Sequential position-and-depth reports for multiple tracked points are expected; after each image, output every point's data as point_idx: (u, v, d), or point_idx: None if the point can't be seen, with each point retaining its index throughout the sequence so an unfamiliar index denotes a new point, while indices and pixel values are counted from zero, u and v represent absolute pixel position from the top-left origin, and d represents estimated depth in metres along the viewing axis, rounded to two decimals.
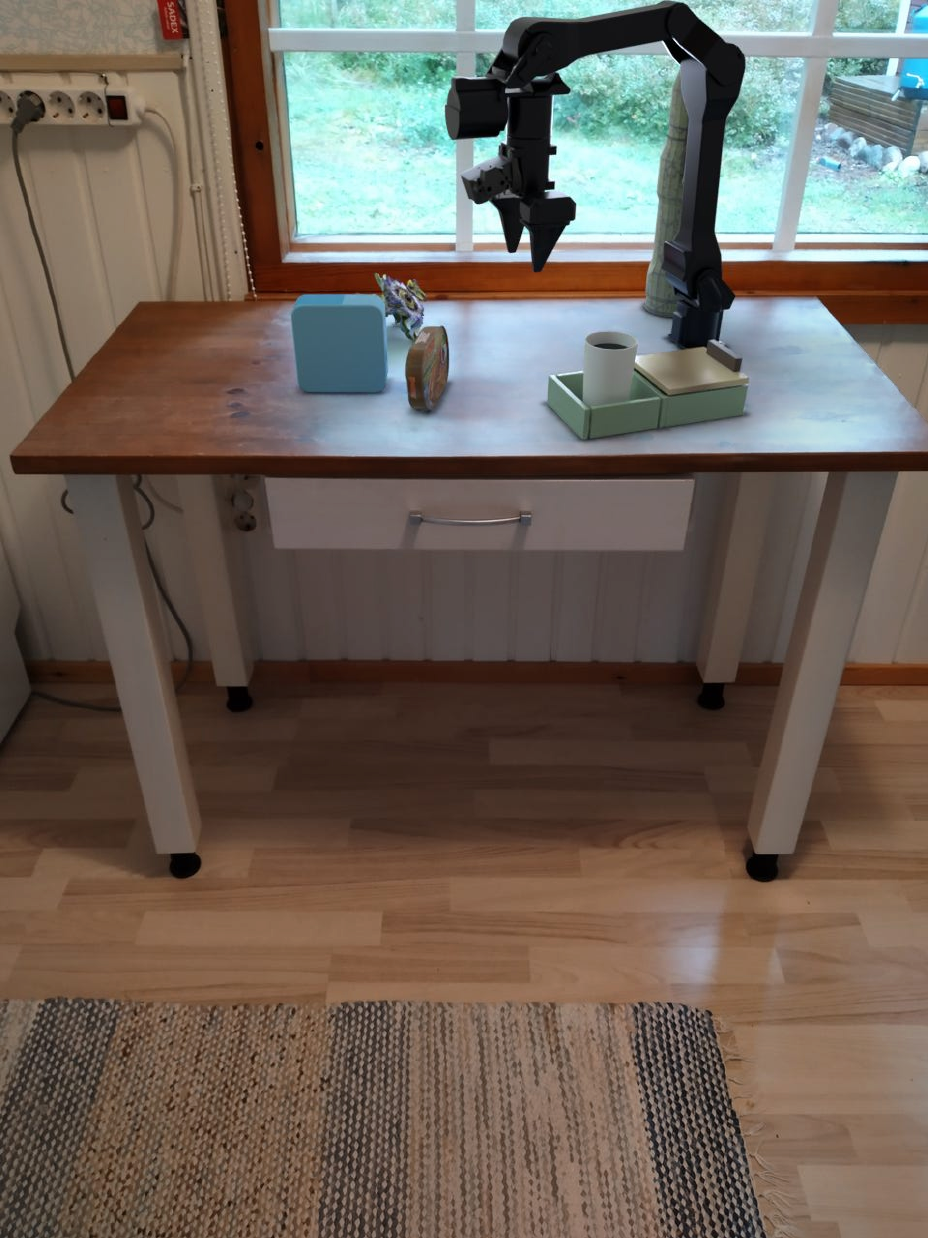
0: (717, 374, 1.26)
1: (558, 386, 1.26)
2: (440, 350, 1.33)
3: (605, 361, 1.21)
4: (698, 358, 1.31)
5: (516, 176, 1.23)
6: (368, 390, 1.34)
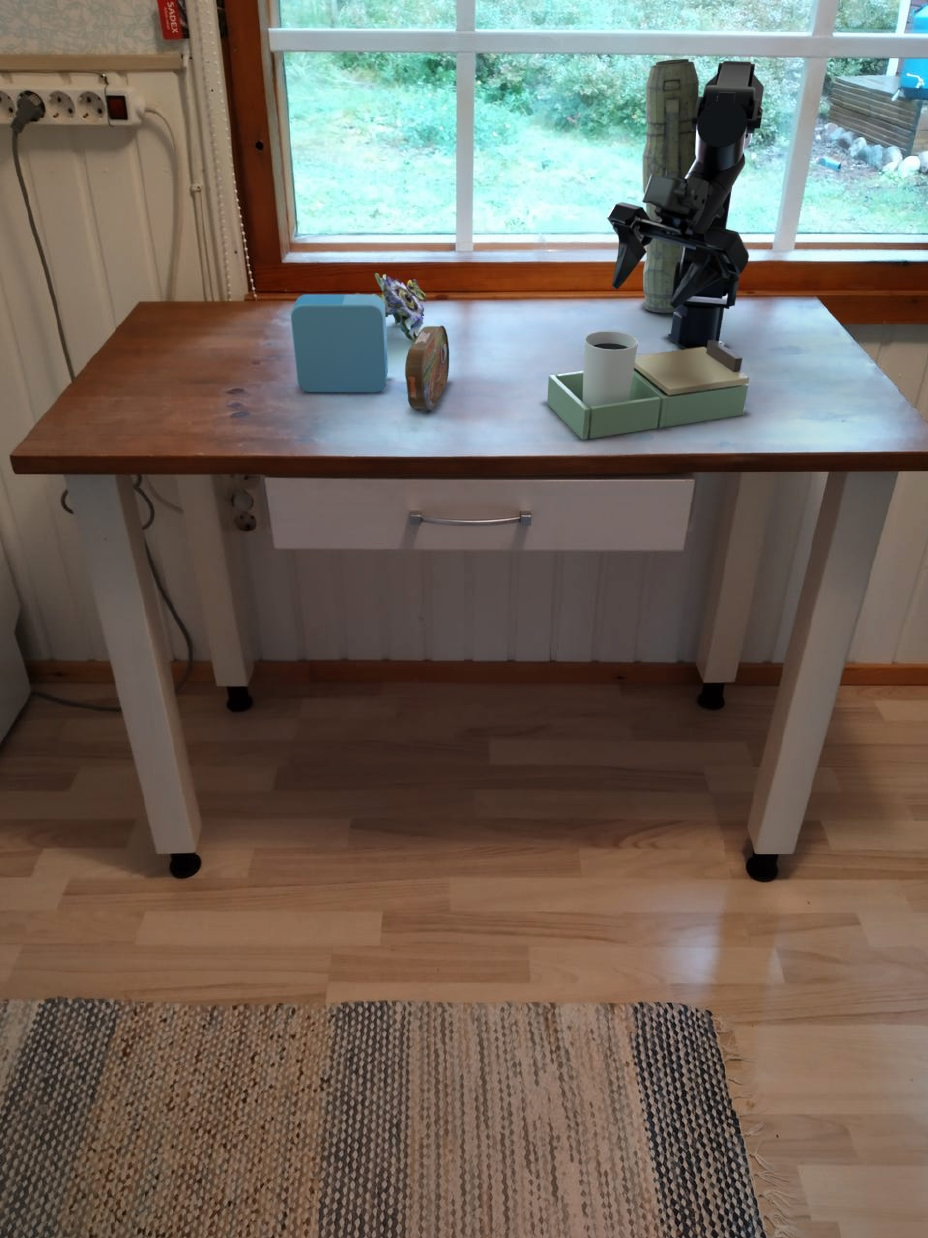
0: (717, 374, 1.26)
1: (558, 386, 1.26)
2: (440, 350, 1.33)
3: (605, 361, 1.21)
4: (698, 358, 1.31)
5: (701, 208, 1.20)
6: (368, 390, 1.34)
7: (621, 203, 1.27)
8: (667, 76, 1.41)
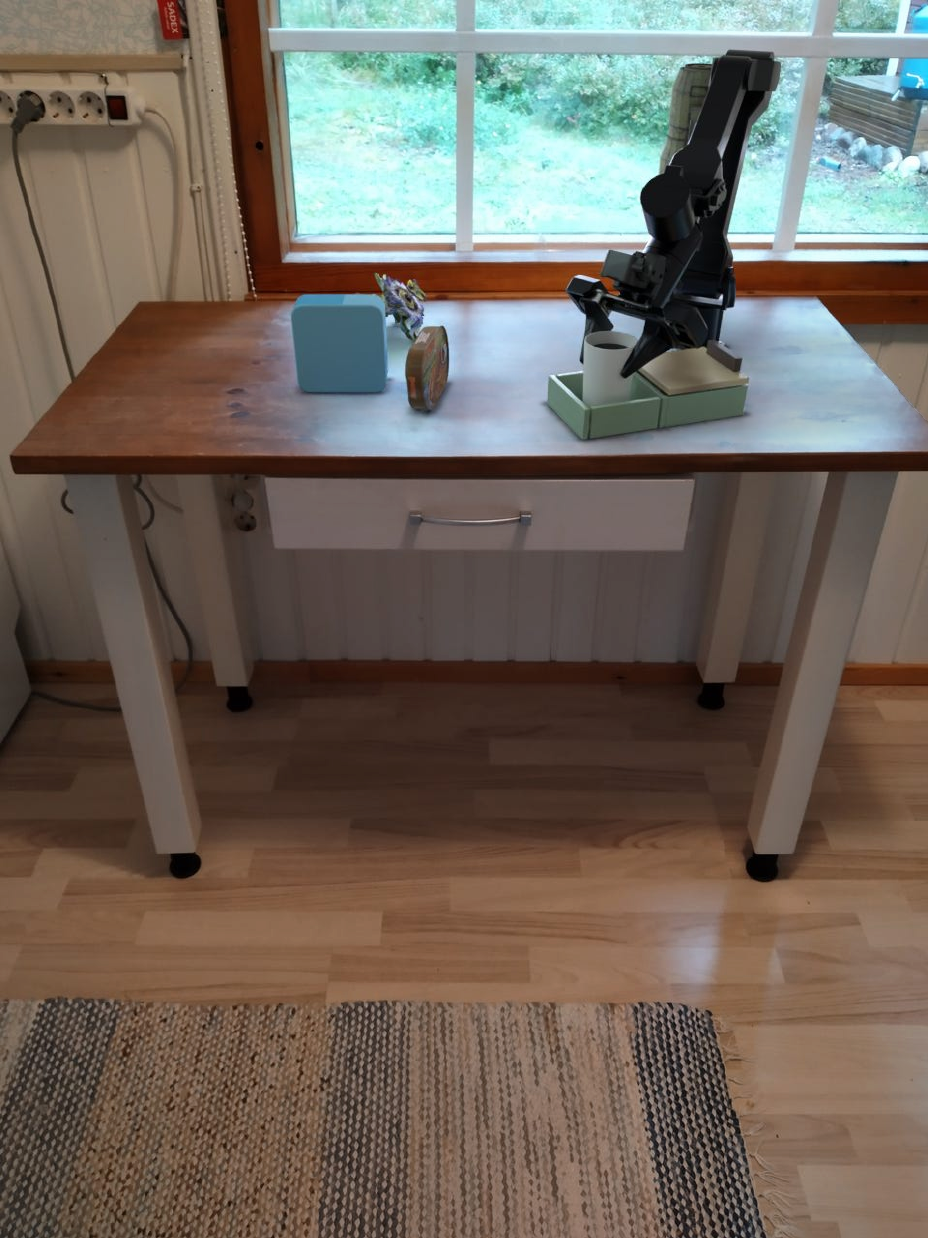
0: (717, 374, 1.26)
1: (558, 386, 1.26)
2: (440, 350, 1.33)
3: (605, 361, 1.21)
4: (698, 358, 1.31)
5: None
6: (368, 390, 1.34)
7: (579, 276, 1.26)
8: (695, 82, 1.40)
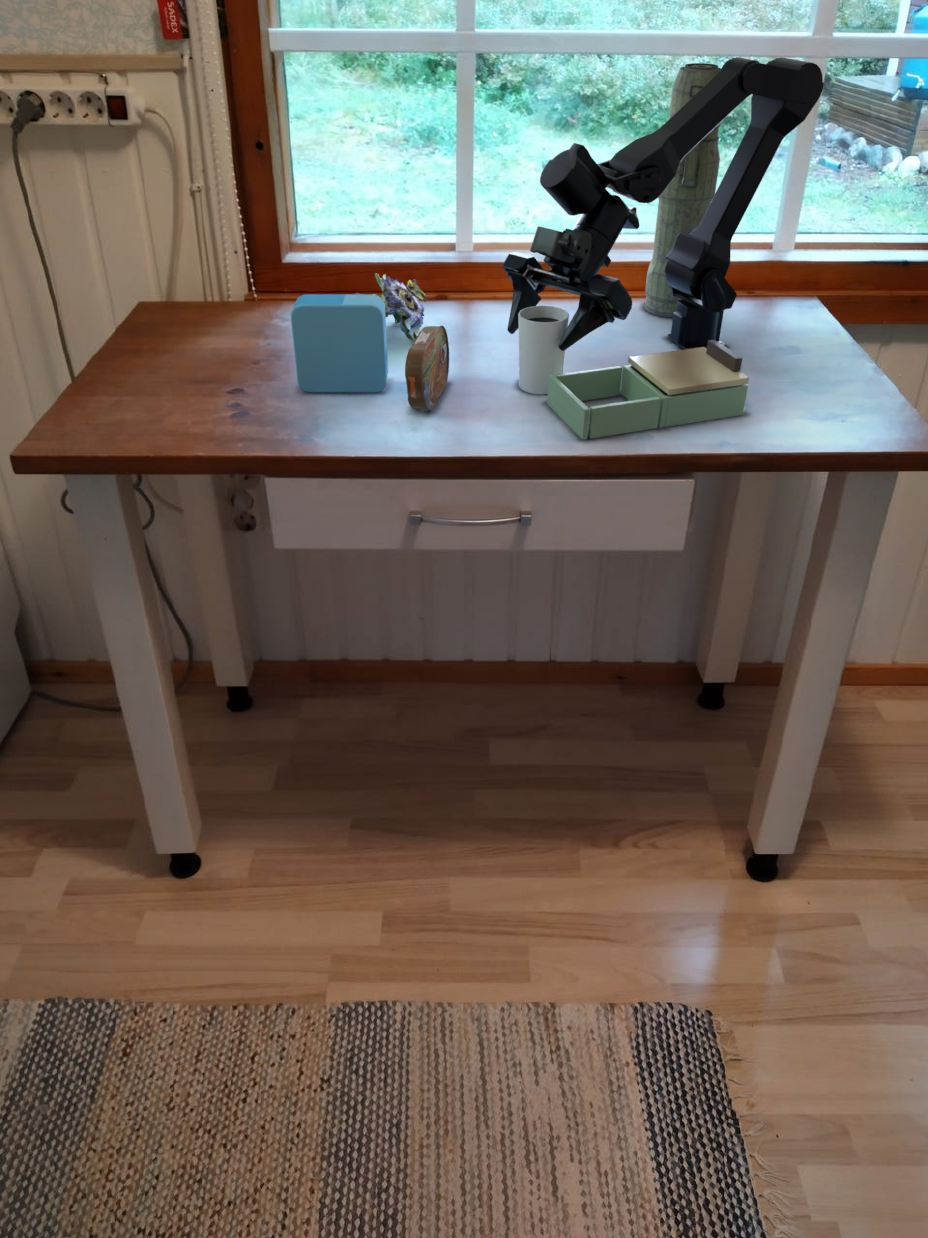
0: (717, 374, 1.26)
1: (558, 386, 1.26)
2: (440, 350, 1.33)
3: (537, 333, 1.29)
4: (698, 358, 1.31)
5: (586, 258, 1.27)
6: (368, 390, 1.34)
7: (514, 253, 1.34)
8: (695, 82, 1.40)
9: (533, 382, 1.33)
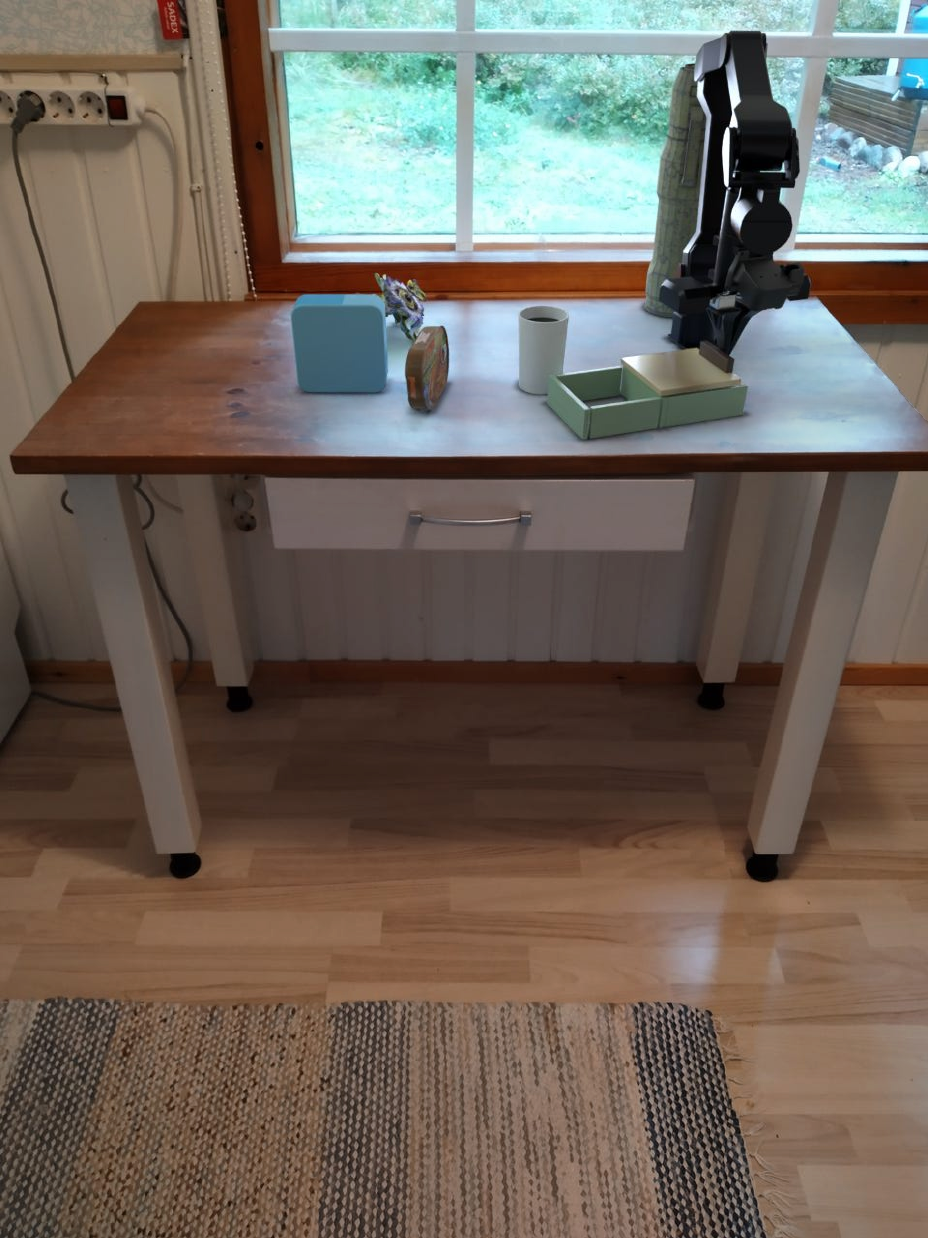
0: (709, 375, 1.26)
1: (558, 386, 1.26)
2: (440, 350, 1.33)
3: (537, 333, 1.29)
4: (691, 359, 1.30)
5: None
6: (368, 390, 1.34)
7: (687, 294, 1.19)
8: (695, 82, 1.40)
9: (533, 382, 1.33)
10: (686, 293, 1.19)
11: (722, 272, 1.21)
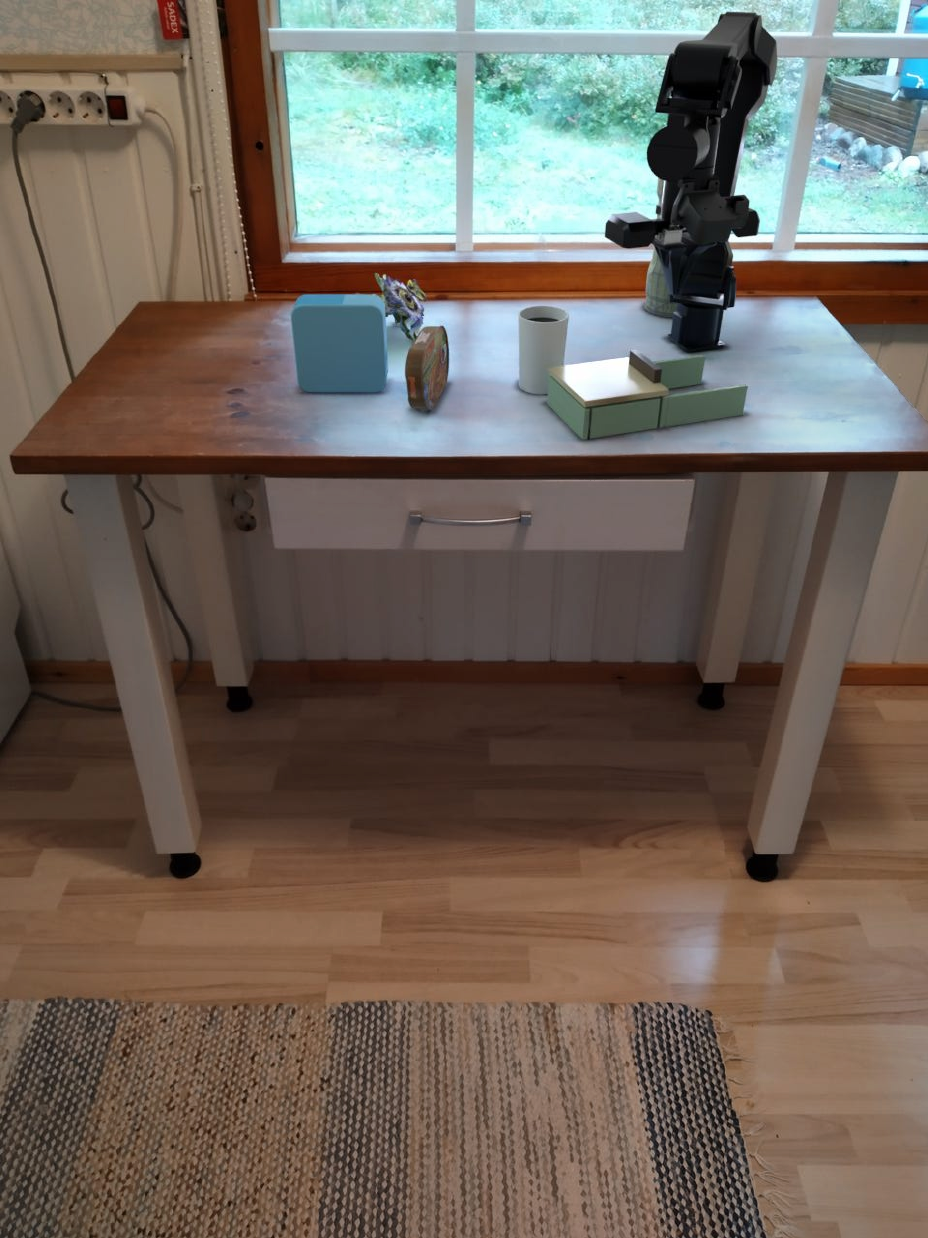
0: (636, 385, 1.23)
1: (558, 386, 1.26)
2: (440, 350, 1.33)
3: (537, 333, 1.29)
4: (620, 369, 1.28)
5: None
6: (368, 390, 1.34)
7: (632, 227, 1.18)
8: None
9: (533, 382, 1.33)
10: (630, 226, 1.18)
11: (668, 206, 1.20)
